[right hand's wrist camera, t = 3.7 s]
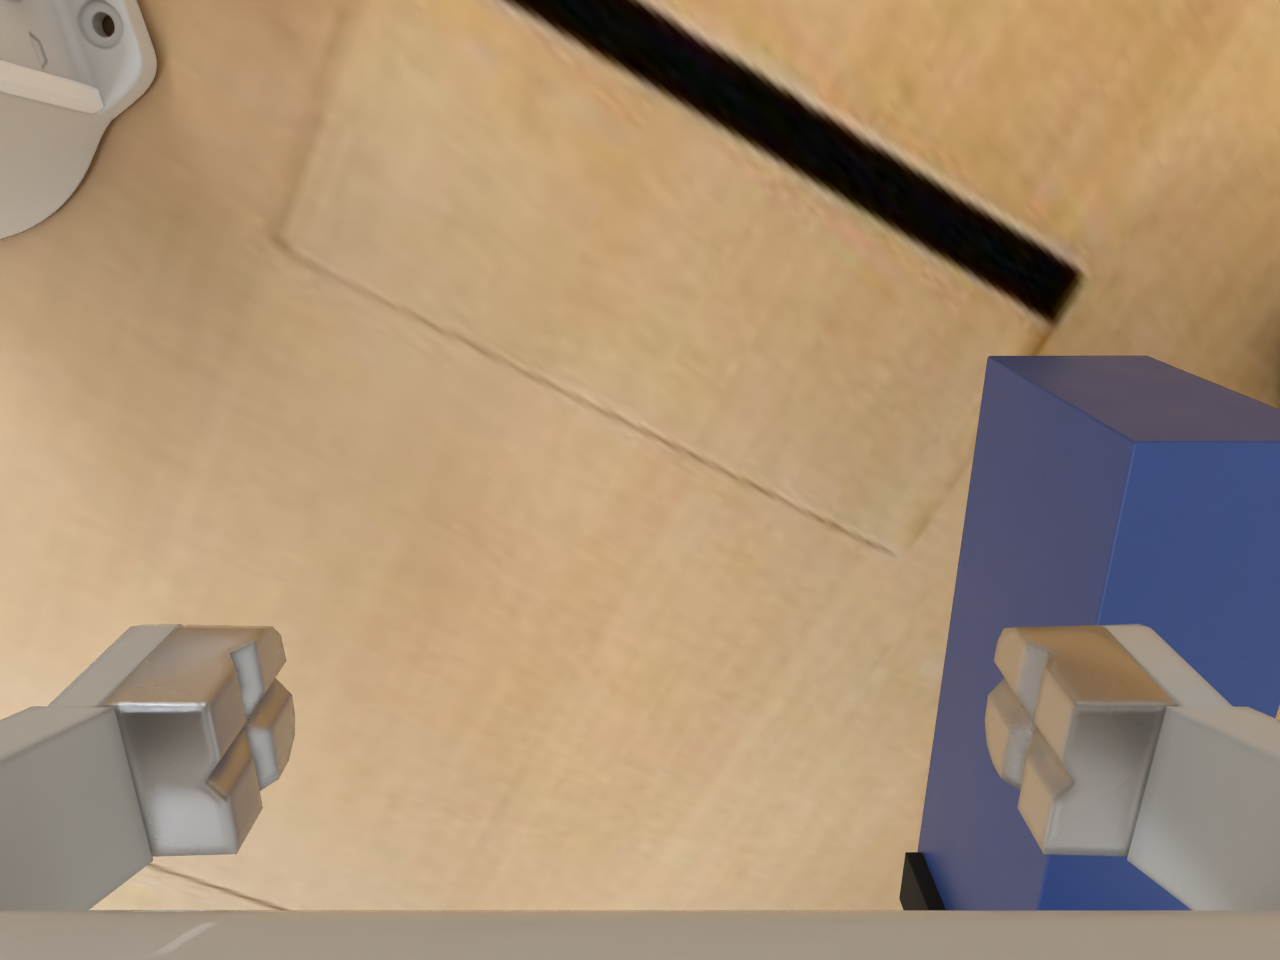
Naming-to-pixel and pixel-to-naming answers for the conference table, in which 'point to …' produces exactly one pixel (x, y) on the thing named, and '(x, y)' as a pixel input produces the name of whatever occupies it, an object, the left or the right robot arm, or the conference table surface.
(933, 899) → the left robot arm
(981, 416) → the box
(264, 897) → the conference table surface
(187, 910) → the right robot arm
